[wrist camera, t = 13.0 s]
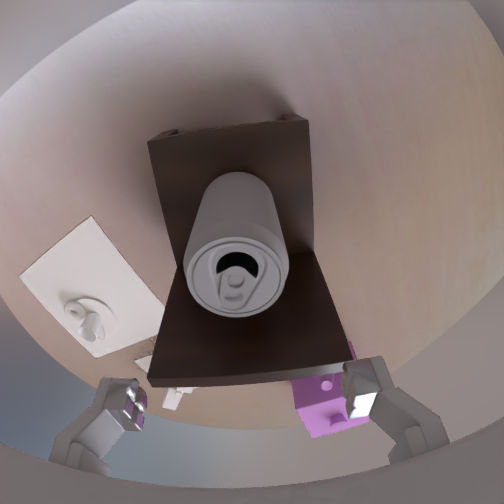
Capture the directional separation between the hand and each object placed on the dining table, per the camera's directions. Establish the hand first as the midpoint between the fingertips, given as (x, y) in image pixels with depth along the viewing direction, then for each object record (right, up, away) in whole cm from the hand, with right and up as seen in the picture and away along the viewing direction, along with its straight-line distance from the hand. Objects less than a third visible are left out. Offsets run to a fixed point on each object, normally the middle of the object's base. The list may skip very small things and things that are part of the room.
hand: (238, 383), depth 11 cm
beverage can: (-1, +10, +17) cm, 19 cm away
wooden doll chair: (-1, +12, +22) cm, 25 cm away
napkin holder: (-11, -15, +38) cm, 42 cm away
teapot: (+12, -13, +37) cm, 41 cm away
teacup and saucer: (-23, -2, +30) cm, 38 cm away
